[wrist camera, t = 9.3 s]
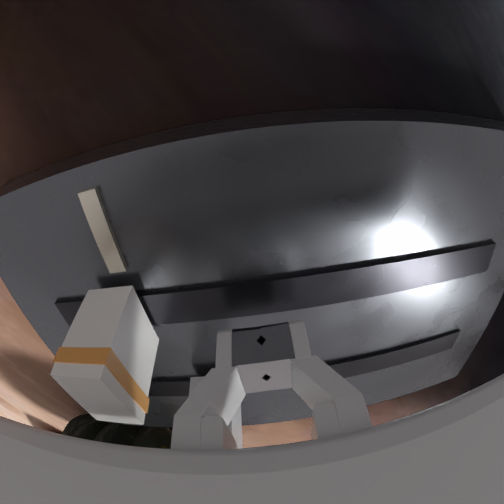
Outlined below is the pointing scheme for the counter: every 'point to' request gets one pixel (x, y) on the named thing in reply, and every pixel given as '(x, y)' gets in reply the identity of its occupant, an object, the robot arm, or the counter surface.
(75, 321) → the block
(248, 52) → the counter surface
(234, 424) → the block
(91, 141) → the counter surface
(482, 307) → the console
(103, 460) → the robot arm
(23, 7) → the counter surface
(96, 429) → the squash
